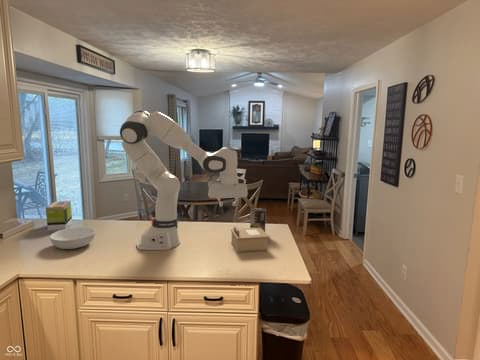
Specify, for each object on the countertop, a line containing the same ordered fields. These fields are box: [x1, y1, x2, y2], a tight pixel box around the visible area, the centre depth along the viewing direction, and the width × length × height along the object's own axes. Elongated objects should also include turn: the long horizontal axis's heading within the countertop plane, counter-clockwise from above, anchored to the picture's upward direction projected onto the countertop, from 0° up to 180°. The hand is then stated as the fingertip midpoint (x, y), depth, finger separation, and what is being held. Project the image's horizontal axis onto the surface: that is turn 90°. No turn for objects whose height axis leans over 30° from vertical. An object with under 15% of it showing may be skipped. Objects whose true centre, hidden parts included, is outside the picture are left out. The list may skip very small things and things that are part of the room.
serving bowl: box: [49, 226, 96, 250], centre depth 163 cm, size 21×21×7 cm
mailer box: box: [231, 232, 269, 254], centre depth 168 cm, size 16×14×7 cm
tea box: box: [45, 200, 73, 232], centre depth 191 cm, size 15×10×15 cm, turn 14°
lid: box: [230, 226, 270, 240], centre depth 167 cm, size 17×15×3 cm
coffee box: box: [249, 207, 267, 233], centre depth 186 cm, size 9×6×16 cm
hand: (227, 205), depth 162 cm, fingers open, 5 cm apart
